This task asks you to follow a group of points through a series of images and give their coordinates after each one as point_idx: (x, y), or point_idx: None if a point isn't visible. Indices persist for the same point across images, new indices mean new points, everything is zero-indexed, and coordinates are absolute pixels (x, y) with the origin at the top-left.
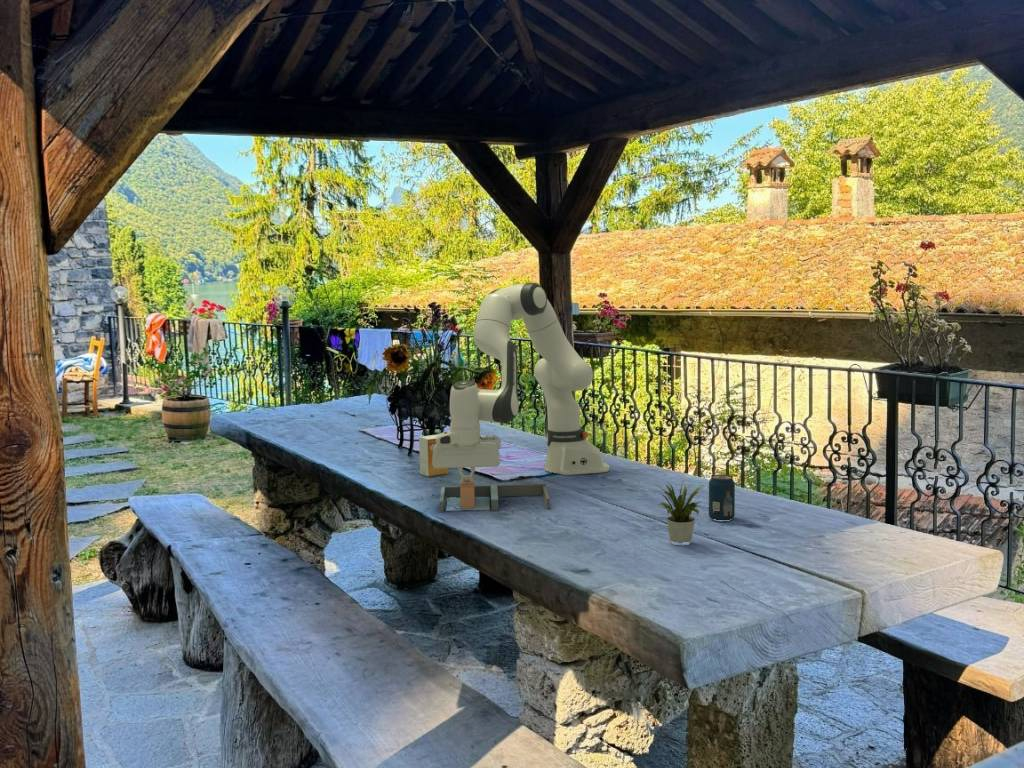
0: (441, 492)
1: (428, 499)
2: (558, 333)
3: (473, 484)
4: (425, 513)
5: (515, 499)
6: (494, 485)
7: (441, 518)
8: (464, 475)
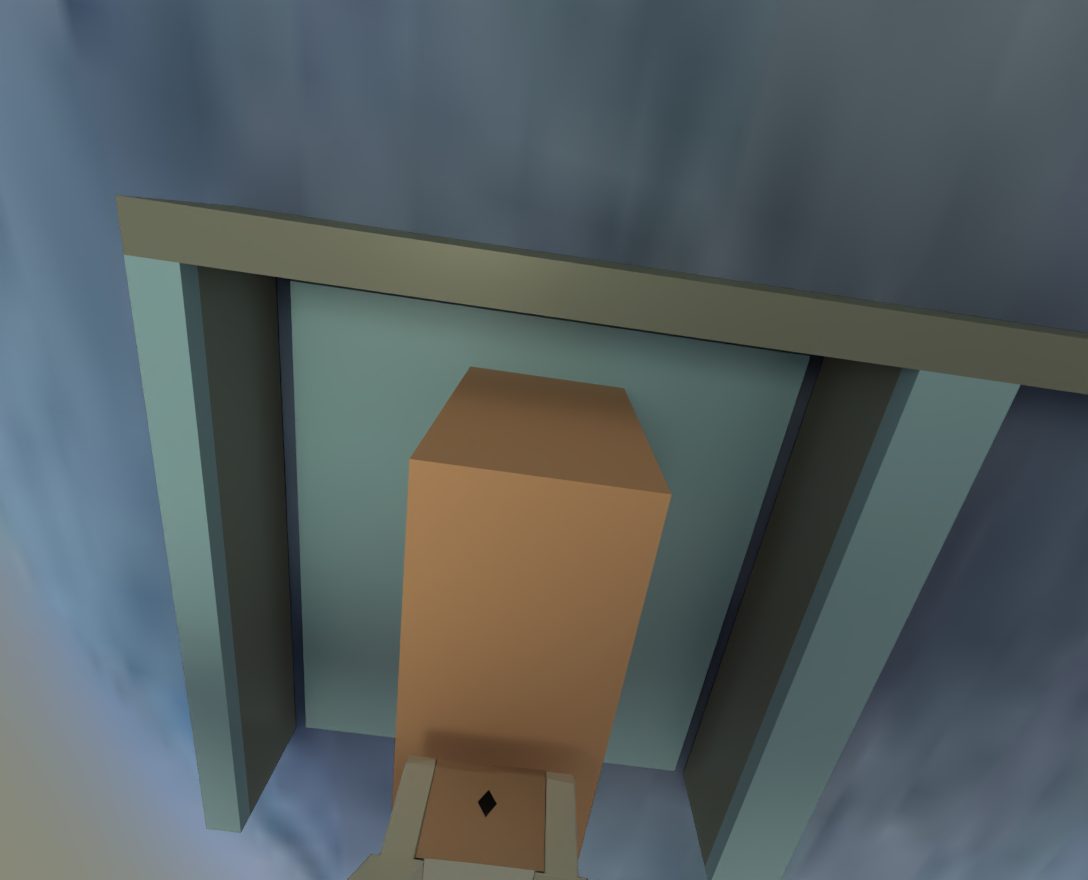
0: (175, 555)
1: (66, 245)
2: None
3: (583, 811)
4: (152, 723)
5: (1037, 509)
6: (987, 365)
7: (294, 845)
8: (433, 870)
